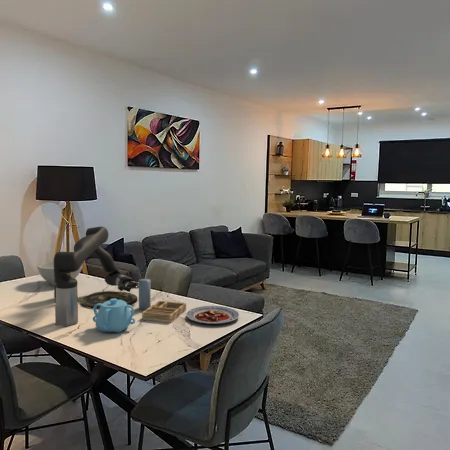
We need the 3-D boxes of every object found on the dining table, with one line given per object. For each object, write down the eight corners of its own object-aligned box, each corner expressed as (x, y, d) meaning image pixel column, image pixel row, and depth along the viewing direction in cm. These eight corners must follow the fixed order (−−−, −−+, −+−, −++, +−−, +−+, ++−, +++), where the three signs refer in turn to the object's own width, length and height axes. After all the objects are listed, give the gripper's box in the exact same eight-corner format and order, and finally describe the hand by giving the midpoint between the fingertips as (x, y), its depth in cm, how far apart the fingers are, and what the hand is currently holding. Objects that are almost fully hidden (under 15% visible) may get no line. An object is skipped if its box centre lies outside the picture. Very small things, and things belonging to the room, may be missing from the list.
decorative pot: (91, 326, 186) (90, 297, 184) (125, 320, 194) (125, 292, 193) (100, 338, 172) (99, 306, 171) (137, 331, 180) (137, 301, 179)
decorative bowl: (74, 276, 279) (74, 259, 278) (89, 284, 258) (89, 265, 257) (32, 282, 262) (31, 263, 261) (45, 291, 241) (44, 271, 240)
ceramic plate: (217, 331, 182) (217, 325, 182) (175, 319, 198) (175, 313, 198) (249, 317, 203) (249, 311, 203) (209, 306, 218) (209, 301, 218)
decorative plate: (127, 307, 208) (70, 304, 211) (127, 311, 209) (70, 308, 211) (144, 292, 238) (94, 290, 241) (144, 295, 238) (94, 293, 241)
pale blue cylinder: (147, 310, 209) (147, 281, 208) (136, 309, 211) (136, 280, 209) (152, 307, 215) (152, 279, 213) (142, 306, 216) (142, 278, 215)
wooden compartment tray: (171, 322, 192) (171, 315, 192) (142, 319, 196) (142, 312, 195) (186, 310, 211) (186, 303, 211) (159, 307, 215) (159, 300, 215)
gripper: (112, 277, 227) (124, 283, 214) (136, 274, 236) (149, 280, 223) (112, 290, 228) (124, 297, 215) (136, 287, 236) (149, 293, 224)
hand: (137, 288), depth 219 cm, fingers open, 8 cm apart
